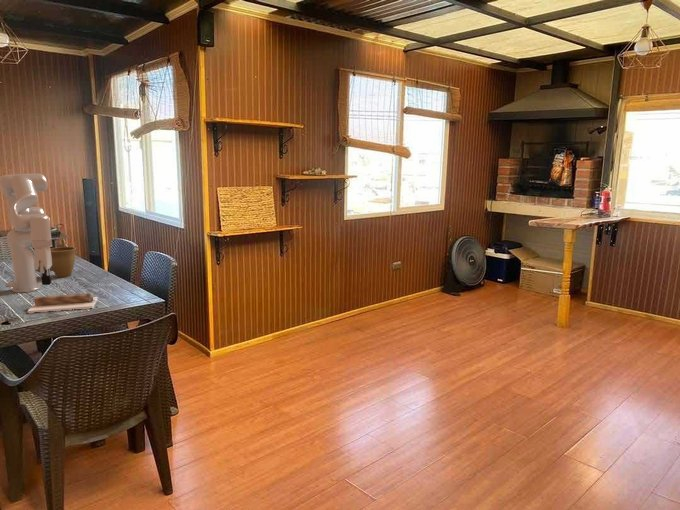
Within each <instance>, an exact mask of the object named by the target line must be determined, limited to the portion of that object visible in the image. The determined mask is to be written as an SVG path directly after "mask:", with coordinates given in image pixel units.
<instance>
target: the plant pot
mask: <svg viewBox="0 0 680 510" xmlns="http://www.w3.org/2000/svg"><path fill="white" fill-rule="evenodd" d="M50 250H51V257H52V266H51V267H52V268H51V267H50V268H51V269H52V271H53V273H54V275H55V277H56V278H68V276H69V277H71V276H72V272H73V270H74V266H75V261H76V250H77V247H75V246H61V247H60V246H59V247H52V248H51V247H50Z"/></svg>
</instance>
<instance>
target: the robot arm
mask: <svg viewBox="0 0 680 510" xmlns="http://www.w3.org/2000/svg"><path fill="white" fill-rule="evenodd" d="M48 184H49V183H48V179H47V178H46V176H45V175H44V174H42V173H16V174H15V173H14V174H13V173H12V174H5V175H1V176H0V190H1V192H2V193H3V196H4V197H5V199H6V208H7V217H8V222H9V225H10V226H12V227H13V229H12V230H10V231H9V232H8V233H7V234H6V239H7V243H8V245H9V249H10V255H11V261H12V269H13V279H14V281H12V282H5V287H6V288H12V289H11V291H12V292H13V293H31V292H35V291H39V290H40V289H42V286H49V285H51V284H52V279H51V278H52V277H51V270H50V269H51V266H52V257H51V250H50V249H51V247H52V248H53V241H52V240H53V239H52V231H51V218H50V216H48V214H46V213H45V210H44V209H43V208H42V207H40V206H35V205H37V204H38V202H39V195H38V193H37V192H45V191H47V190H48V187H49V185H48ZM28 248H32V249H33V253H32V251H30V250H29V249H28ZM39 270H40V278H41V285H42V286H41V285H40V284H38V281H37V272H36V271H39Z"/></svg>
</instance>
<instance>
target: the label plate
mask: <svg viewBox="0 0 680 510" xmlns="http://www.w3.org/2000/svg"><path fill="white" fill-rule="evenodd" d="M98 299H99V298H98V296H93V301H87V302H73V303H59V304H45V305H35V302H34V303H33V304H32V305H31V306H30V308H29V309H28V310H27V314H28V313H29V314H35V313H34V312H43V313H48V312H47V311H56V312H62V311H61V310H69V311H75V310H74V309H82V310H91V309H90V308H93V309H94V307H95V306H96V303H97V301H98ZM72 309H73V310H72Z"/></svg>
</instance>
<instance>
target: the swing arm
mask: <svg viewBox="0 0 680 510" xmlns="http://www.w3.org/2000/svg"><path fill="white" fill-rule="evenodd" d="M93 297H94V294H93V292H87V293H76V294H62V295H61V294H60V295H47V296H36V297H34V299H33V300H34V303H35V305H45V304H59V303H73V302H87V301H93Z"/></svg>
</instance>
